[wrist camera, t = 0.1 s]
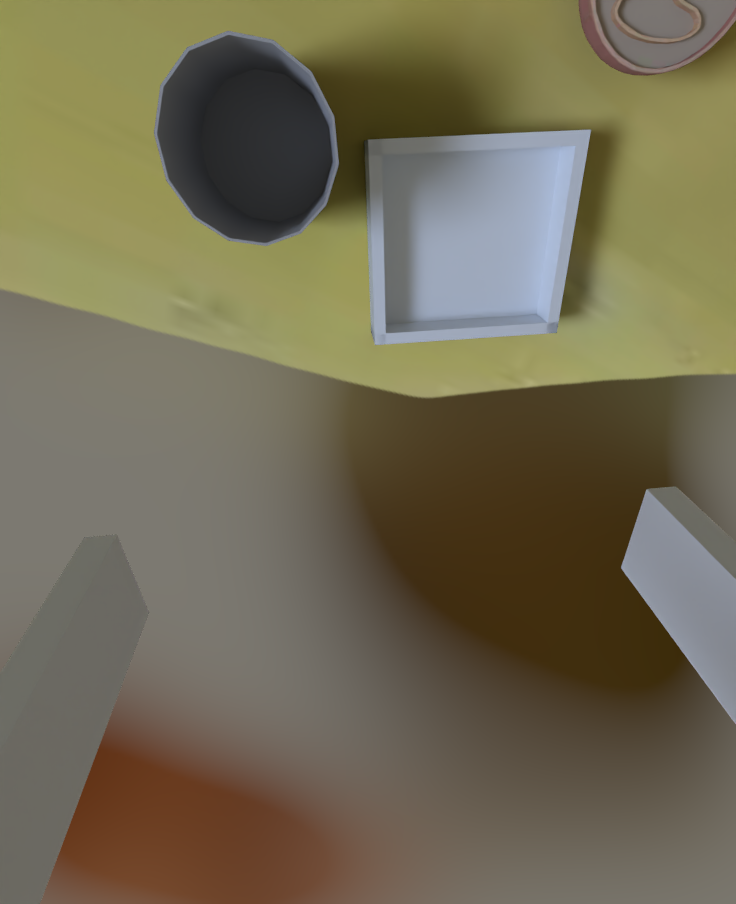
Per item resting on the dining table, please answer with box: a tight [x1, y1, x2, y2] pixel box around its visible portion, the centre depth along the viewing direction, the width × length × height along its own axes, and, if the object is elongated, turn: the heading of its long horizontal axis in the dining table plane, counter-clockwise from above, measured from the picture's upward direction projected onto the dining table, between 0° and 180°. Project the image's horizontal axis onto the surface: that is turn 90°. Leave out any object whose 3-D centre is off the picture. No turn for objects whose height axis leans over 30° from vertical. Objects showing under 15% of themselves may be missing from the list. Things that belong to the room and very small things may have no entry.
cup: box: [154, 31, 339, 246], centre depth 27 cm, size 8×8×10 cm
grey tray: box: [364, 130, 591, 345], centre depth 33 cm, size 13×14×3 cm
